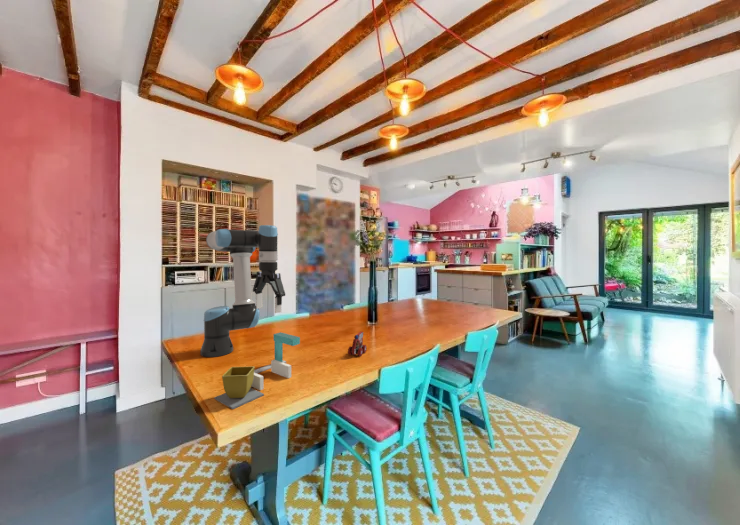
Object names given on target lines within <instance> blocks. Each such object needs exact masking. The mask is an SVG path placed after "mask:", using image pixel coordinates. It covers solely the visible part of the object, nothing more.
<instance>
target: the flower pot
mask: <svg viewBox="0 0 740 525" xmlns="http://www.w3.org/2000/svg"><path fill="white" fill-rule="evenodd" d="M255 368H256V367H255V366H253V365H252V366H251V365H250V366H231V367H230V368H229V369H228V370H226V372H224V373H223V374H222V376H221V379H222V384H223V389H224V392H225V393H226V394H227V396H228V397H229V398H244V397H245V396H246V394H247V393H248V392H249V390H250V388H252V387H251V385H252V382H253V377H254V370H255Z"/></svg>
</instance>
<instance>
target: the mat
mask: <svg viewBox="0 0 740 525" xmlns="http://www.w3.org/2000/svg"><path fill="white" fill-rule="evenodd" d="M264 396H265V393H263V392H261V391H260V390H258V389H257V390H256V388H253V387H251V388H250V390H249V392H248V393H247V394H246V396H245V397H244V398H229V397H228V396H227V394H226V392H225V393H223V394H219V395H216V396H214V398H213V399H214V400H216V401H217V402H219V403H221V404H222V405H224V406H226V407H228V408H230V409H231V410H235V409H237V408H240V407H241V406H244V405H245V404H249V403H250V402H252V401H255V400H257V399H259V398H261V397H264Z"/></svg>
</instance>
